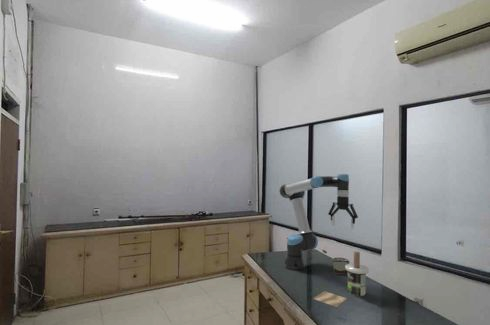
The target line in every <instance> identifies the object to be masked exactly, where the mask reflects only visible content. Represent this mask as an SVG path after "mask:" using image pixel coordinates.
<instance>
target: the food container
mask: <svg viewBox="0 0 490 325" xmlns="http://www.w3.org/2000/svg"><path fill="white" fill-rule="evenodd" d="M331 263H332V266H333V274H335V275H348V271H347V270H346V269H345V265H347V264H351V262H350V259H347V258H345V257H333V258H332V260H331Z"/></svg>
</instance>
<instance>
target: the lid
mask: <svg viewBox="0 0 490 325" xmlns="http://www.w3.org/2000/svg"><path fill="white" fill-rule="evenodd" d="M345 269H346V270H347V271H349V272H352V273H357V274H366V275H367V274H368V273H369V268H368V267H367V266H365V265H362V264H361V253H360V252H359V251H353V263H349V264H347V265H345Z"/></svg>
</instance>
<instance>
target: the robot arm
mask: <svg viewBox="0 0 490 325" xmlns="http://www.w3.org/2000/svg"><path fill="white" fill-rule="evenodd" d="M349 184H350V179H349V174H348V173H337V176H332V175H331V176H330V175H328V176H327V175H325V176H321V175H319V176H318V175H315V176H313V177H311V178H308V179H305V180H301V181H298V182H294V183H286V184H282V185H281V186H280V187H279V195H280V196H281V197H282V198H284V199H289V202H290V203H292V207H293V211H294V215H295V221H296V223H297V228H298V234H290V235H288V236H287V239H286V258H285V261H284V268H286V269H288V270H293V271H299V270H305V267H306V266H305V261H304V258H303V252H308V251H312V250H315V249H316V248H317V246H318V245H319V244H318V243H319V239H318V237H317V236H316V234H314V232H313V230H311V229H310V225H309V220H308V217H307V212H306V209H305V205H304V201H303V200H304V199H305V198H304V197H305V193H306V191H309V190H313V189H317V188H326V187H327V188H336V190H337V192H336V194H337V197H336V201H337V202H336V201H334V202H332V206H331V208H330V209H329V212H328V213H327V215H328V216H330V221H331V226H335V224H336V222H335V218H336V217H335V214H336V213H337V212H338V211H339V210H343V211H346V212H347V213H348V215H349V216H350V218H351V219H350V229H351V230H352V229H354V228H355V227H354V226H355V224H356V219H359V216H358V213H357V212H356V209H355V207H354V203H349V201H350V200H349V198H350V197H349V195H350V194H349V193H350V192H349V188H350V187H349ZM336 206H337V207H336ZM335 207H336V208H335ZM350 209H351V210H350Z"/></svg>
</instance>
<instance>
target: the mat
mask: <svg viewBox="0 0 490 325" xmlns="http://www.w3.org/2000/svg"><path fill="white" fill-rule="evenodd" d="M312 299H313V300H314V301H315V300H316V301H318V302H321V303H324V304H326V305H330V306H332V307H336V308H337V307H339V305H341V304H342V303H344V302H345V301H346V300H347V299H348V298H347V297H344V296H340V295H337V294H334V293H332V292H328V291H325V290H324V291H322V292H321V293H319V294H317V295H316V296H314V297H313V298H312Z"/></svg>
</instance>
